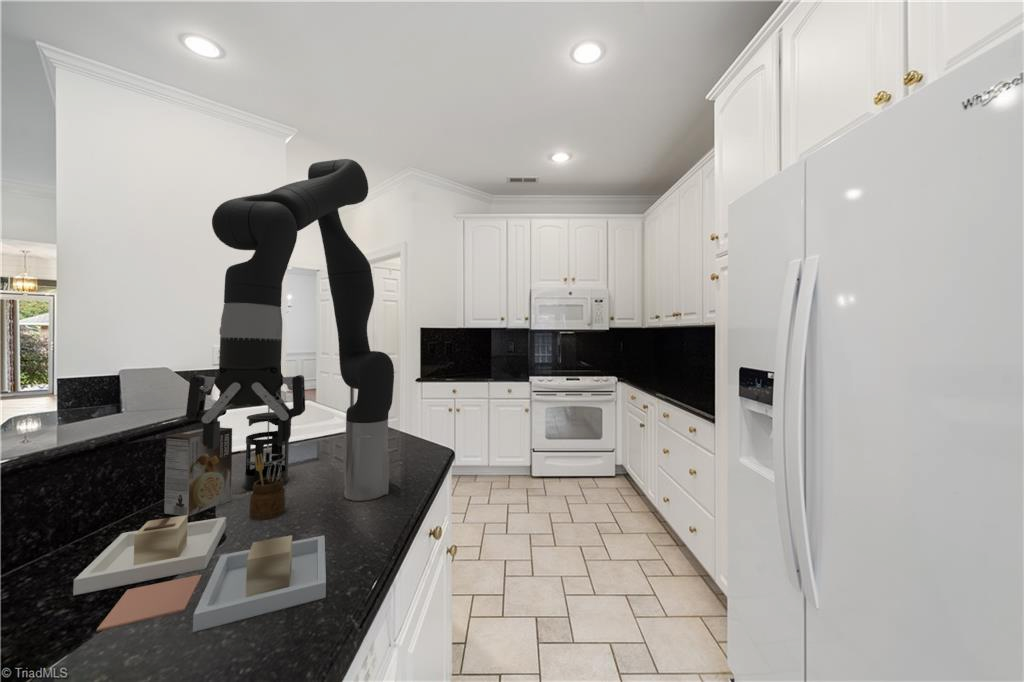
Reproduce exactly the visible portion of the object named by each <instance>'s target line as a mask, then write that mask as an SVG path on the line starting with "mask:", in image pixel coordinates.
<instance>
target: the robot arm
mask: <svg viewBox="0 0 1024 682" xmlns="http://www.w3.org/2000/svg"><path fill="white" fill-rule="evenodd" d="M368 182H369V181H368V178H367V175H366V172H365V170H364V169H363V167H362V165H360V164H359V162H357V161H356V160H353V159H351V158H341V159H340V158H339V159H333V160H325V161H318V162H317V161H316V162H314V163H312V164H310V165H309V167H308V171H307V179H305V180H298V181H295V182H292V183H288V184H285V185H283V186H279V187H278V188H275V189H273V190H271V191H270V192H269V191H268V192H265V193H260V194H259V193H258V194H251V195H246V196H241V197H235V198H232V199H229V200H226V201H224V202H222V203H221V204H220V205H218V206H217V207H216V209H215V210H214V212H213V215H212V217H211V218H212V219H211V226H212V230H213V232H214V234H215V236H216V237H217V239H218V240H219V241H220V242H222V243H223V244H224V245H226V246H227V247H229V248H231V249H235V250H240V251H254V252H253V254H252V256H251V257H250V259H248V260H246V261H243V262H240V263H236V264H233V265H230V266H229V267H228V268H227V269H226V271H225V276H224V288H223V289H224V290H223V291H224V292H223V293H224V295H223V308H222V309H223V310H222V314H221V318H220V327H219V335H220V336H219V337H220V339H219V361H218V374H217V375H216V377H215V376H207V375H203V374H200V375H195V376H192V377H191V378H190V380H189V385H188V396H187V403H186V410H185V411H186V412H185V417H186V419H188V420H195V421H199V422H201V423H202V426H203V427H202V428H203V445H204V446H207V449H208V450H214V449H216V448H217V447H218V446H219V437H220V428H221V421H220V420H218V419H219V418H220V417H221V416H222V415H223V413H224V412H225V411H226V410H227V409H229V408H230V407H231V406H232V405H233V406H234V407H242V406H246V405H250V406H256V407H258V406H259V407H260V406H262V405H266V406H267V407H269V408H270V411H273V412H275V413H276V415H277V416H278V417H279V418H280V420H279V421H278V426H277V431H278V436H277V445H278V446H281V445H282V446H285V442H286V441H288V440H289V441H290V438H291V435H292V434H291V433H292V419H293V418H295V417H299V416H301V415H302V414H304V412H305V411H306V393H305V389H306V387H305V377H304V375H302V374H298V375H296V376H283V374H282V350H283V349H282V347H283V314H282V298H283V297H282V294H283V292H282V291H283V281H284V278H285V274H286V271H287V269H288V265H289V263H290V260H291V257H292V256H293V252H294V250H295V246H296V243H297V238H298V232H299V231H302V230H303V229H305V228H307V227H308V226H309V225H311V224H312V223H315V222H316V221H317V223H318V226H319V232H320V234H321V235H320V236H321V240H322V244H323V251H324V257H325V263H326V270H327V278H328V284H329V290H330V294H331V295H330V296H331V299H332V303H333V312H334V317H335V324H336V331H337V338H338V353H339V354H338V356H339V358H338V359H339V370H340V376H341V379H342V380H343V382H344V383H345V384H346V386H348V387H349V388H351V389H354V390H357V398H356V401H355V403H353V405H350V406H349V407H348V408H347V409H346V411H345V412H346V415H345V447H344V449H345V450H344V451H345V455H344V456H345V457H344V459H345V460H344V487H343V488H344V495H343V496H344V497H345V499H347V500H350V501H354V502H355V501H356V502H362V501H370V500H374V499H377V498H381V497H382V496H385V495H386V496H387V495H389V481H390V478H389V476H390V453H389V450H388V449H389V448H388V444H389V443H388V442H389V441H388V440H389V439H388V438H389V414H390V413H389V412H390V410H391V408H392V404H393V397H394V396H393V395H394V386H395V385H394V384H395V383H394V381H395V368H394V363H393V360H392V358H391V357H390V356H389V355H388V354H387V353H385V352H384V351H379V350H378V351H376V350H372V351H371V349H370V342H369V336H368V323H369V318H370V314H371V312H372V309H373V308H372V307H373V303H374V298H375V286H374V280H373V278H374V277H373V273H372V268H371V264H370V262H369V260H368V259H367V257H366V256H365V254H364V253H363V252H362V250H361V249H360V248H359V247H358V245H356V243H355V242H354V241H353V240H352V238H351V237H350V236H349V234H348V233H347V231H346V230H345V228H344V226H343V223H342V221H341V220H342V219H341V217H340V214H339V213H340V212H339V209H341V208H343V207H346V206H353V205H357V204H360V203H362V202H364V201H365V200H366V199H367V197H368V194H369V183H368ZM284 385H286V386H287V389H288V390H289V391H292V408H289V407H288V405H287V404H286V403H285V401H284V400H283V398H282V397H281V396H280V395H279V393H277V391H280V388H281V387H283V386H284ZM213 386H215V387H216V388H217V389H218V391H219V392H220V393H221V395H220V397H219V398H218V399H217V400H216V401H214V403H213V404H212V406H211V407H210V408H209V410H206V409H205V407H206V399H207V392H208V391H211V389H212V387H213Z"/></svg>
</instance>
